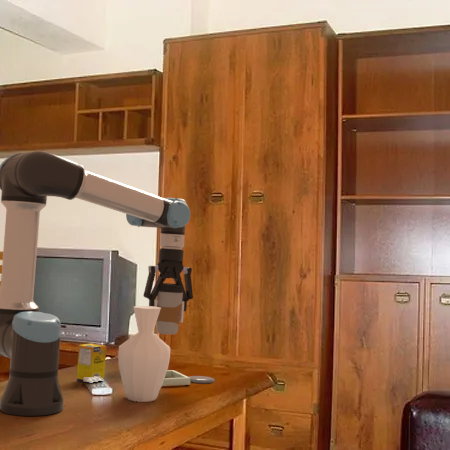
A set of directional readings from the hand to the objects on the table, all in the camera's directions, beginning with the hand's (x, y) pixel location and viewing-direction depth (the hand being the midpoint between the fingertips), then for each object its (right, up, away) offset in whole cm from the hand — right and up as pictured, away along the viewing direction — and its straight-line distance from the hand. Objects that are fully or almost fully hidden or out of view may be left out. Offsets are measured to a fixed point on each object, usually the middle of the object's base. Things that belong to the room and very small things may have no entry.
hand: (166, 321), depth 214 cm
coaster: (+10, -20, +6) cm, 23 cm away
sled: (-4, -19, +6) cm, 20 cm away
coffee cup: (0, -4, -1) cm, 4 cm away
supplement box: (-23, -18, -4) cm, 29 cm away
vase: (-5, -18, -23) cm, 30 cm away
